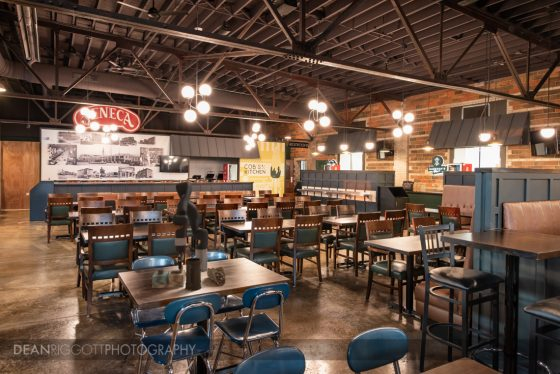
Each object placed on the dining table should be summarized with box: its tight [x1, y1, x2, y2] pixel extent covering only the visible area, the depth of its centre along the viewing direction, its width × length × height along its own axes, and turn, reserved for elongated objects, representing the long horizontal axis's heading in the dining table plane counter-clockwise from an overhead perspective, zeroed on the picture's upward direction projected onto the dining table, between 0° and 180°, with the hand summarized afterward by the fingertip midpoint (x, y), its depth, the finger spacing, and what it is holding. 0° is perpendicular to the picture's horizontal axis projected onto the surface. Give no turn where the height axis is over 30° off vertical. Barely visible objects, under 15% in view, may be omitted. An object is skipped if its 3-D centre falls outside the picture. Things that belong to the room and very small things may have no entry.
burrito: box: [206, 266, 227, 287], centre depth 264 cm, size 10×27×10 cm, turn 28°
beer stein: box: [184, 257, 202, 292], centre depth 244 cm, size 15×11×20 cm
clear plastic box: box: [151, 267, 186, 289], centre depth 255 cm, size 20×14×11 cm
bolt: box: [169, 262, 184, 274], centre depth 256 cm, size 8×3×7 cm, turn 99°
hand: (180, 267), depth 257 cm, fingers open, 8 cm apart
